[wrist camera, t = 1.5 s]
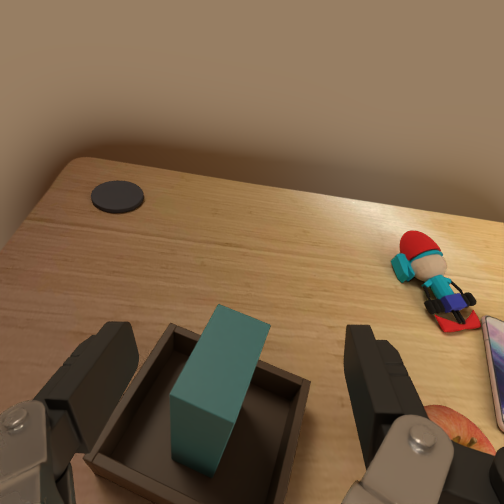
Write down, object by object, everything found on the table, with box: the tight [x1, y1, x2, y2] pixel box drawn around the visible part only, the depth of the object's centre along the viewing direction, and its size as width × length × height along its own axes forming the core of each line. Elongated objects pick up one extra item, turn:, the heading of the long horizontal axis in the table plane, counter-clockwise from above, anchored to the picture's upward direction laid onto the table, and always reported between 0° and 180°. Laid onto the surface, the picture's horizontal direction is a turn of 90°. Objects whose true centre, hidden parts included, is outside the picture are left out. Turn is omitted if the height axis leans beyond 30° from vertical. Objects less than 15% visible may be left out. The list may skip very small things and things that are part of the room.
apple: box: [424, 405, 496, 456], centre depth 25 cm, size 8×8×8 cm
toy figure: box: [391, 231, 481, 332], centre depth 43 cm, size 8×5×15 cm
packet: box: [169, 304, 270, 478], centre depth 22 cm, size 4×6×13 cm, turn 161°
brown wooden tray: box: [83, 323, 311, 504], centre depth 26 cm, size 13×11×4 cm
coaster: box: [91, 181, 144, 213], centre depth 46 cm, size 7×7×1 cm
